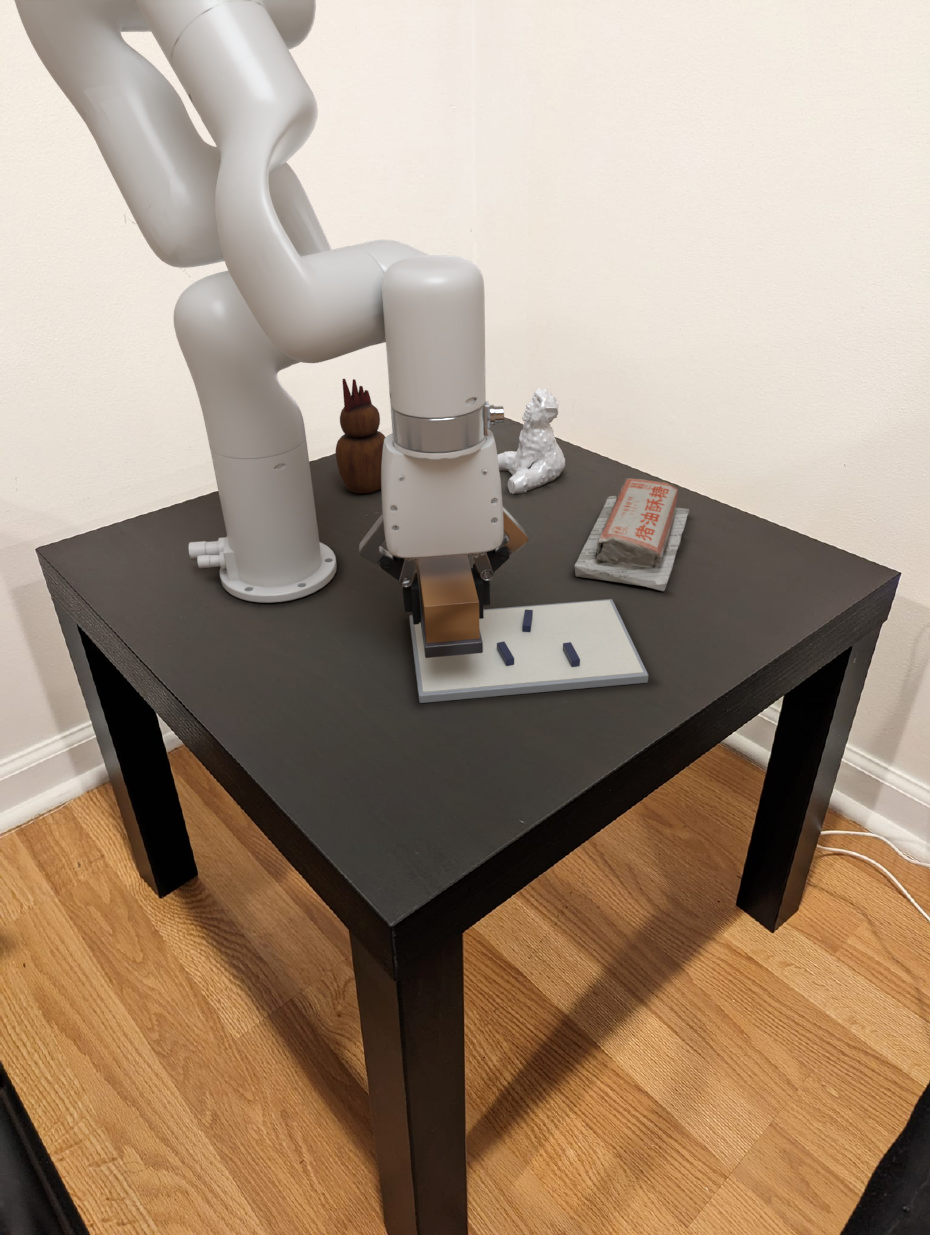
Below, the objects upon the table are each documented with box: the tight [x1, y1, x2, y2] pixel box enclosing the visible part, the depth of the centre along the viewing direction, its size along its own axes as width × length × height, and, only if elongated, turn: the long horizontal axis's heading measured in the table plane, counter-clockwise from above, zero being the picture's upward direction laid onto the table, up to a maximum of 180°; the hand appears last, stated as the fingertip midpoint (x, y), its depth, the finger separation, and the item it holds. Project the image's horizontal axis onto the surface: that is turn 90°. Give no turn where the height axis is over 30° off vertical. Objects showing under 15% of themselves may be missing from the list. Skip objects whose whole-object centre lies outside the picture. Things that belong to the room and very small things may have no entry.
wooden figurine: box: [335, 378, 386, 494], centre depth 109 cm, size 7×6×15 cm
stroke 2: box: [522, 609, 533, 632], centre depth 85 cm, size 1×3×1 cm, turn 172°
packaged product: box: [574, 478, 690, 592], centre depth 98 cm, size 18×5×10 cm
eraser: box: [416, 554, 483, 658], centre depth 78 cm, size 5×12×5 cm, turn 7°
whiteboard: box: [409, 598, 649, 704], centre depth 83 cm, size 21×13×1 cm, turn 97°
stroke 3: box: [563, 642, 580, 667], centre depth 80 cm, size 1×3×1 cm, turn 12°
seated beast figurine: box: [497, 387, 566, 495], centre depth 112 cm, size 10×9×12 cm
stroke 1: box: [497, 641, 514, 666], centre depth 81 cm, size 1×3×1 cm, turn 17°
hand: (446, 611), depth 79 cm, fingers closed on eraser, 5 cm apart
